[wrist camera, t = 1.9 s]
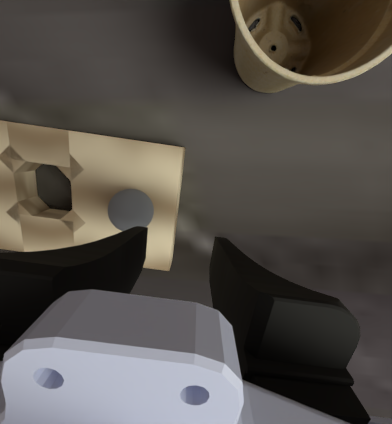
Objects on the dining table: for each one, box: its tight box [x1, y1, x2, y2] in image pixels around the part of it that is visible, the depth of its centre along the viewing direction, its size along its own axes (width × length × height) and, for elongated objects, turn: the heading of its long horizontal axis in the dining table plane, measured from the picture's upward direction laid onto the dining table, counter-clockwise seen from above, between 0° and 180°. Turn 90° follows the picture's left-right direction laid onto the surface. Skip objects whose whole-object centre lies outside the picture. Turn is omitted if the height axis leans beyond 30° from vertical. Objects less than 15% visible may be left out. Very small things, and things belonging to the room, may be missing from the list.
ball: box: [108, 189, 154, 231], centre depth 16 cm, size 4×4×4 cm
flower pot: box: [229, 0, 392, 93], centre depth 12 cm, size 9×9×9 cm
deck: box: [0, 120, 185, 271], centre depth 19 cm, size 12×17×2 cm
